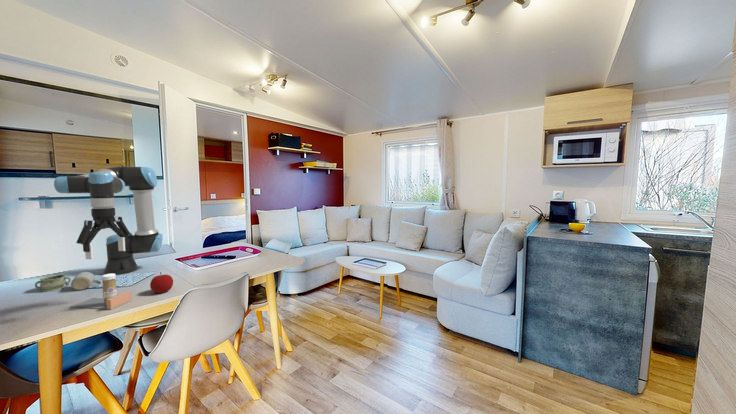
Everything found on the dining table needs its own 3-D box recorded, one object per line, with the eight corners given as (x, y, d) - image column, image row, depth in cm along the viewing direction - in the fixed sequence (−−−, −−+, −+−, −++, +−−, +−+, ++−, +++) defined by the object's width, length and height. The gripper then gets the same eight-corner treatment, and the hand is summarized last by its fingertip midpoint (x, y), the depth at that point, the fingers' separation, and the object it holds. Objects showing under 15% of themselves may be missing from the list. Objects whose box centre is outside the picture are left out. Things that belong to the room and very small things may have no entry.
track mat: (93, 298, 127) (92, 289, 127) (131, 300, 125) (130, 291, 125) (70, 306, 118) (69, 297, 118) (111, 309, 116) (110, 300, 116)
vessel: (34, 294, 130) (33, 282, 130) (36, 289, 136) (35, 277, 136) (70, 288, 139) (69, 276, 138) (71, 283, 145) (70, 272, 144)
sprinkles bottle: (107, 306, 118) (104, 277, 117) (101, 304, 120) (99, 275, 119) (119, 302, 123) (117, 273, 121) (114, 300, 124) (111, 272, 123)
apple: (149, 296, 130) (148, 276, 129) (152, 290, 137) (151, 271, 137) (172, 292, 135) (171, 273, 134) (174, 286, 142) (173, 268, 141)
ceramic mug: (70, 292, 134) (69, 277, 133) (74, 287, 140) (74, 272, 140) (100, 288, 140) (99, 273, 139) (103, 283, 146) (102, 269, 146)
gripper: (123, 205, 131) (126, 247, 133) (60, 210, 106) (65, 262, 108) (137, 205, 130) (140, 248, 132) (77, 210, 105) (82, 263, 107)
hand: (106, 254), depth 120 cm, fingers open, 13 cm apart
